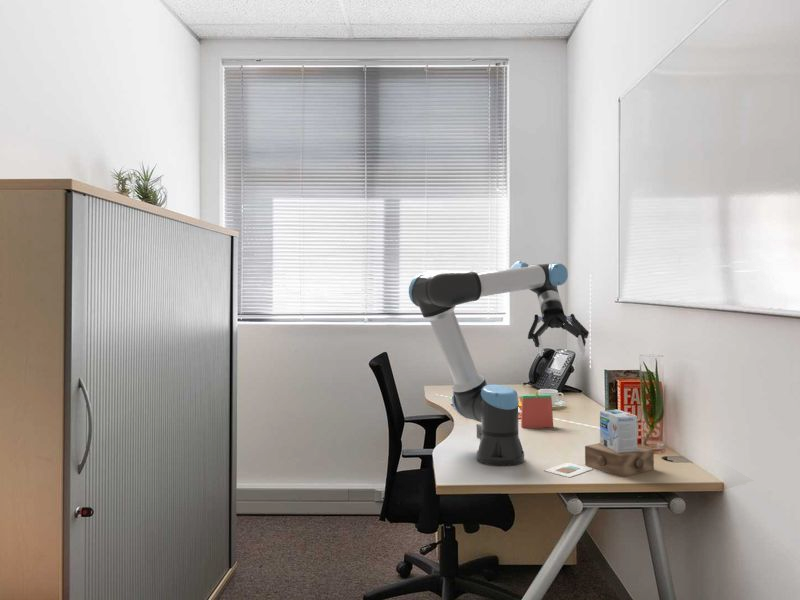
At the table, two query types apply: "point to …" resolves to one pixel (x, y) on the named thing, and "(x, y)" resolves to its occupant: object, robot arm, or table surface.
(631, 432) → the light bulb box
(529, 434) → the table surface
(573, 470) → the white picture frame
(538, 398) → the toy building block set
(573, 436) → the table surface
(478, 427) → the dice cube
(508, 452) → the robot arm
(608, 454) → the base brick
